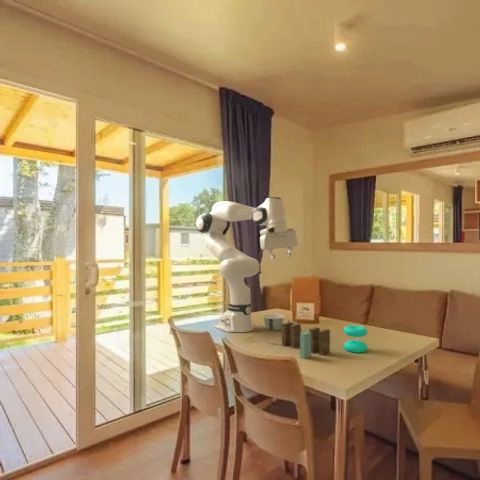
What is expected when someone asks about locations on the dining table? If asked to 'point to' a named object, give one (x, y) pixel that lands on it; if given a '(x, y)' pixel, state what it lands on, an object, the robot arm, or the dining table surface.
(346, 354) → the dining table surface
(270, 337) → the dining table surface
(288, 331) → the domino
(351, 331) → the donuts
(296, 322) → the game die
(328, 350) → the domino
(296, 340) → the domino
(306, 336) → the domino
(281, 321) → the food container
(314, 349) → the domino
